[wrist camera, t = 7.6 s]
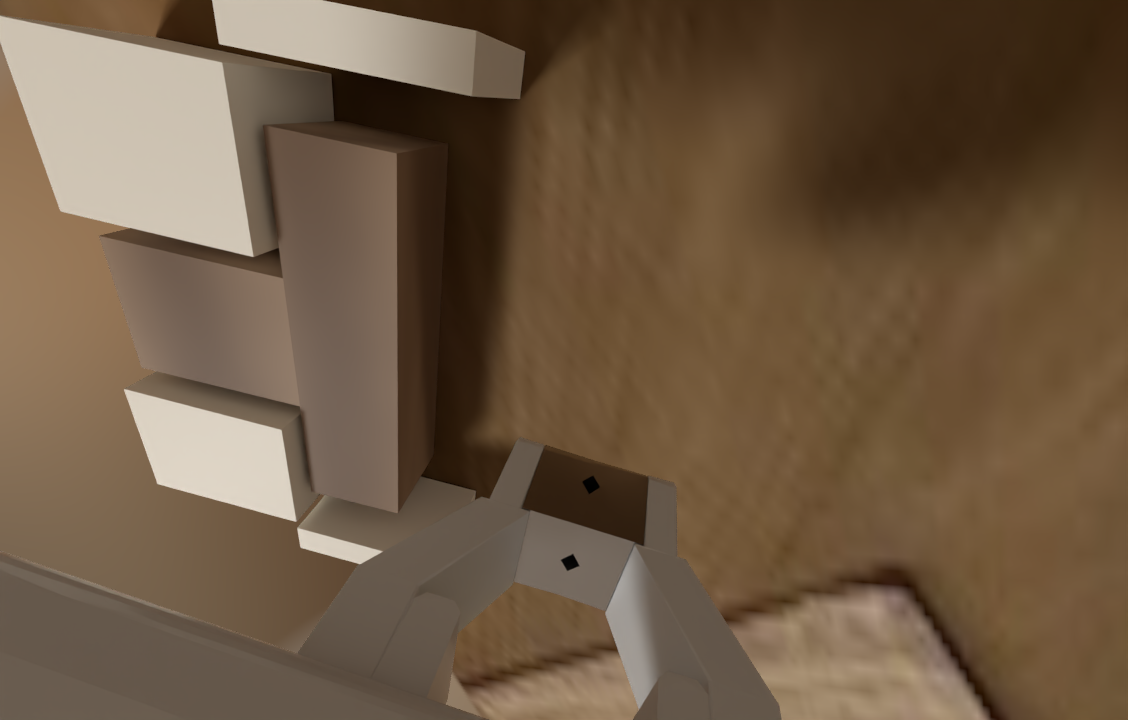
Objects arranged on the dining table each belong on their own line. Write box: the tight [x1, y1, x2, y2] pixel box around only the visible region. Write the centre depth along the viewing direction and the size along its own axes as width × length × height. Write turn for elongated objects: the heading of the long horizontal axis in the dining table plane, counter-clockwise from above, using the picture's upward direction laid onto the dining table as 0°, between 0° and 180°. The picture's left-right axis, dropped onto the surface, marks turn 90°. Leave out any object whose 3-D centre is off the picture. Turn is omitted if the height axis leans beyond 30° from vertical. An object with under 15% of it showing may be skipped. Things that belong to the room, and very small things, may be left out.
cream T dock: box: [0, 0, 525, 564], centre depth 14 cm, size 10×16×4 cm, turn 170°
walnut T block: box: [99, 121, 448, 513], centre depth 14 cm, size 8×11×3 cm
